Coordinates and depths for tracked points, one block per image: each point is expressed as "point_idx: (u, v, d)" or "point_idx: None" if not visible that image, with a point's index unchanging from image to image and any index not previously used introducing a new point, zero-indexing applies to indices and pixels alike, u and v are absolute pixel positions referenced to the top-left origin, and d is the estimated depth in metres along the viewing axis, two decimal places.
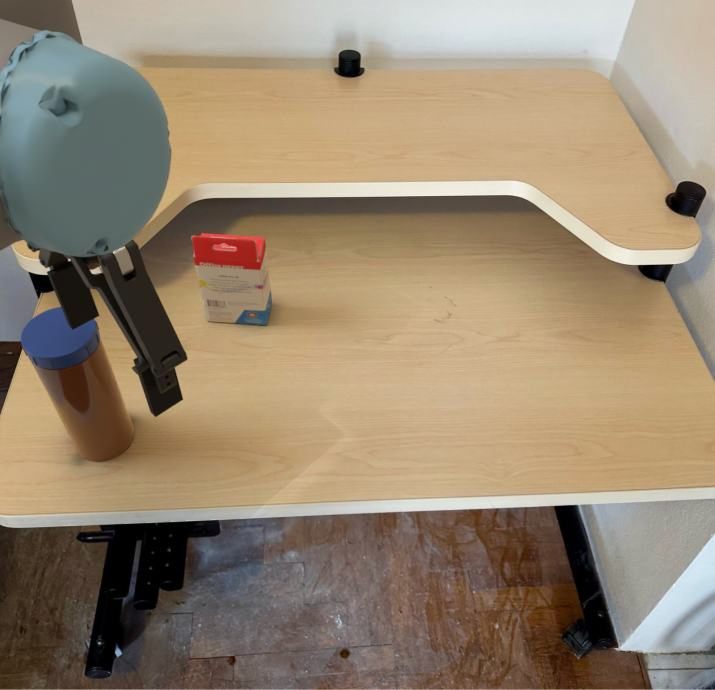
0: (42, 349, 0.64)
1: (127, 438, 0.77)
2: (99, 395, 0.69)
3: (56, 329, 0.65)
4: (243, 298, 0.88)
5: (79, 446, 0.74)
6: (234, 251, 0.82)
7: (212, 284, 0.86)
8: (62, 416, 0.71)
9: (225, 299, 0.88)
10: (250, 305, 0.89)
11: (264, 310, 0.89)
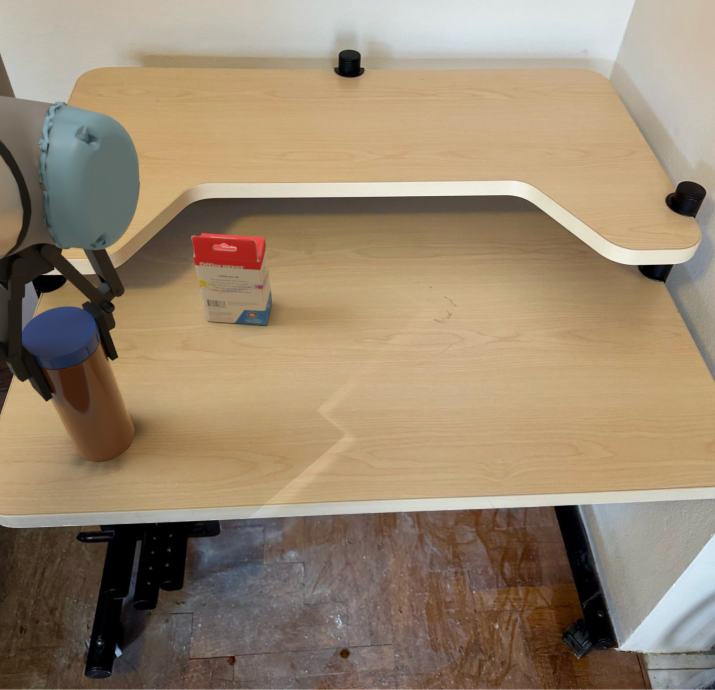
0: (42, 349, 0.64)
1: (127, 438, 0.77)
2: (99, 395, 0.69)
3: (56, 329, 0.65)
4: (243, 298, 0.88)
5: (79, 446, 0.74)
6: (234, 251, 0.82)
7: (212, 284, 0.86)
8: (62, 416, 0.71)
9: (225, 299, 0.88)
10: (250, 305, 0.89)
11: (264, 310, 0.89)
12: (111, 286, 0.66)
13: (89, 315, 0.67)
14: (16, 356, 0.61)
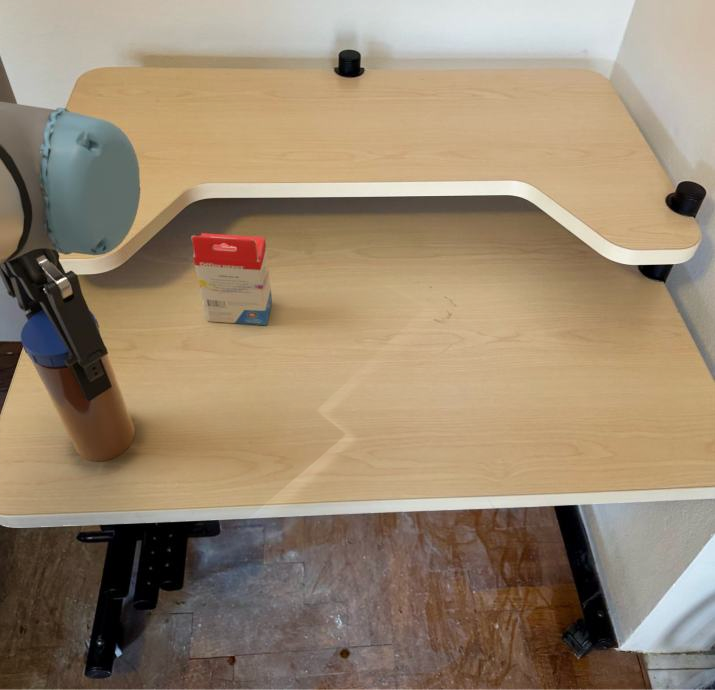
0: None
1: (127, 438, 0.77)
2: (100, 395, 0.69)
3: (55, 330, 0.65)
4: (243, 298, 0.88)
5: (79, 446, 0.74)
6: (234, 251, 0.82)
7: (212, 284, 0.86)
8: (63, 416, 0.71)
9: (225, 299, 0.88)
10: (250, 305, 0.89)
11: (264, 310, 0.89)
12: None
13: (43, 311, 0.67)
14: None
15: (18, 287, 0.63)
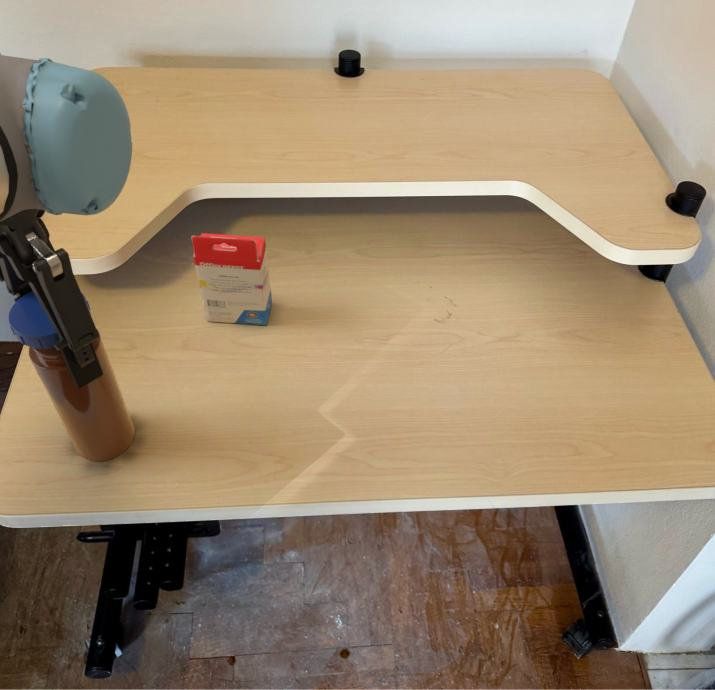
0: None
1: (127, 438, 0.77)
2: (100, 395, 0.69)
3: None
4: (243, 298, 0.88)
5: (79, 446, 0.74)
6: (234, 251, 0.82)
7: (212, 284, 0.86)
8: (63, 416, 0.71)
9: (225, 299, 0.88)
10: (250, 305, 0.89)
11: (264, 310, 0.89)
12: None
13: (13, 325, 0.61)
14: None
15: (7, 269, 0.61)
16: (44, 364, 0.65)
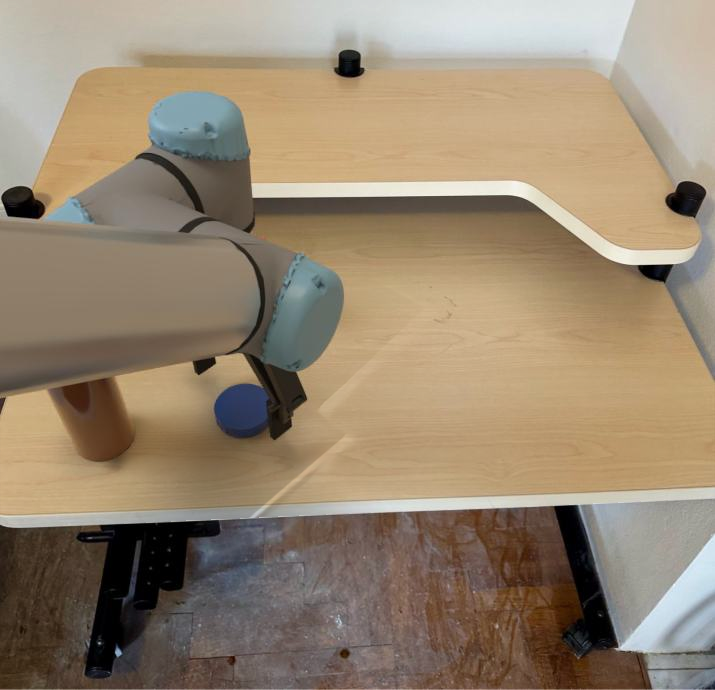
0: (252, 389, 0.82)
1: (127, 438, 0.77)
2: (100, 395, 0.69)
3: (245, 407, 0.80)
4: None
5: (79, 446, 0.74)
6: None
7: None
8: (63, 416, 0.71)
9: None
10: None
11: None
12: None
13: (220, 420, 0.78)
14: None
15: None
16: None
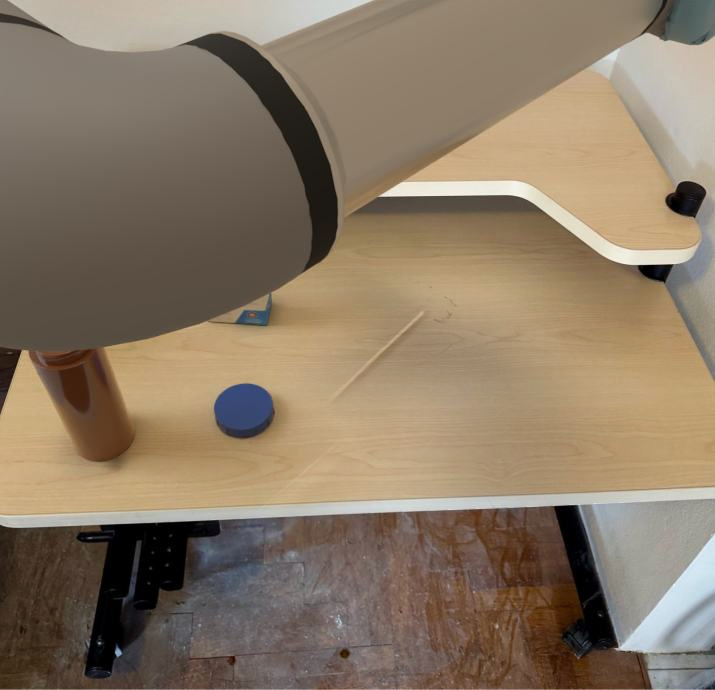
0: (252, 389, 0.82)
1: (127, 438, 0.77)
2: (100, 395, 0.69)
3: (245, 407, 0.80)
4: None
5: (79, 446, 0.74)
6: None
7: None
8: (63, 416, 0.71)
9: None
10: (250, 305, 0.89)
11: (264, 310, 0.89)
12: None
13: (220, 420, 0.78)
14: None
15: None
16: (44, 364, 0.65)
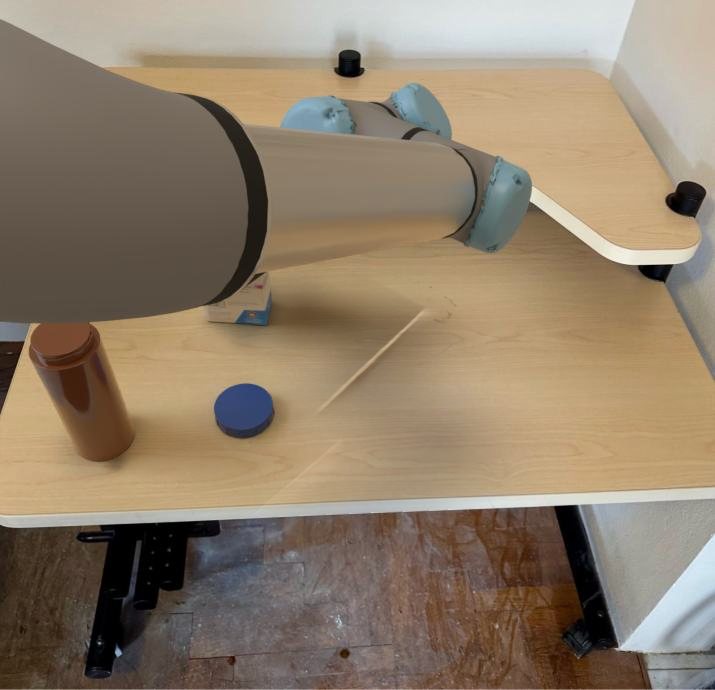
0: (252, 389, 0.82)
1: (127, 438, 0.77)
2: (100, 395, 0.69)
3: (245, 407, 0.80)
4: (243, 298, 0.88)
5: (79, 446, 0.74)
6: None
7: None
8: (63, 416, 0.71)
9: None
10: (250, 305, 0.89)
11: (264, 310, 0.89)
12: None
13: (220, 420, 0.78)
14: None
15: None
16: (44, 364, 0.65)
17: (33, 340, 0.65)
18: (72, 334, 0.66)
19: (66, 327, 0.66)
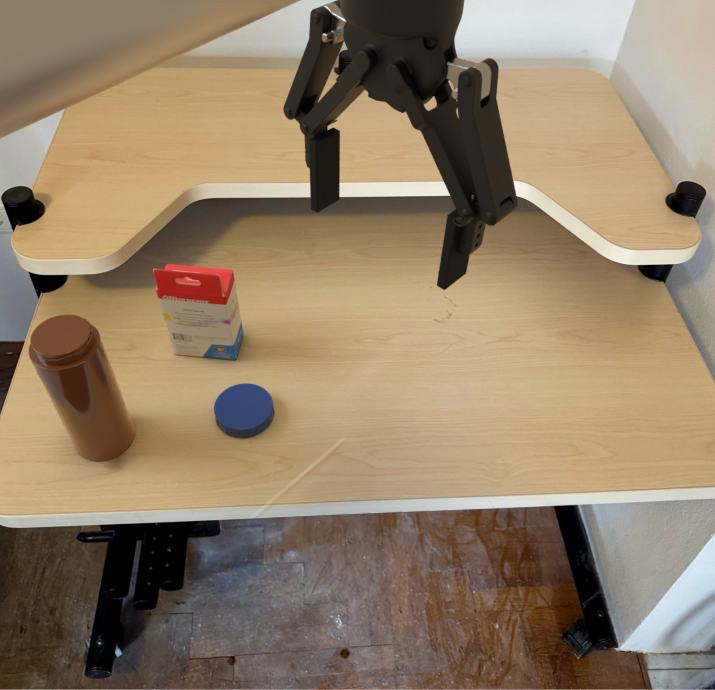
0: (252, 389, 0.82)
1: (127, 438, 0.77)
2: (100, 395, 0.69)
3: (245, 407, 0.80)
4: (210, 333, 0.83)
5: (79, 446, 0.74)
6: (198, 285, 0.78)
7: (177, 317, 0.82)
8: (63, 416, 0.71)
9: (192, 333, 0.84)
10: (218, 340, 0.84)
11: (232, 345, 0.85)
12: (318, 96, 0.52)
13: (220, 420, 0.78)
14: None
15: (335, 107, 0.48)
16: (44, 364, 0.65)
17: (33, 340, 0.65)
18: (72, 334, 0.66)
19: (66, 327, 0.66)
